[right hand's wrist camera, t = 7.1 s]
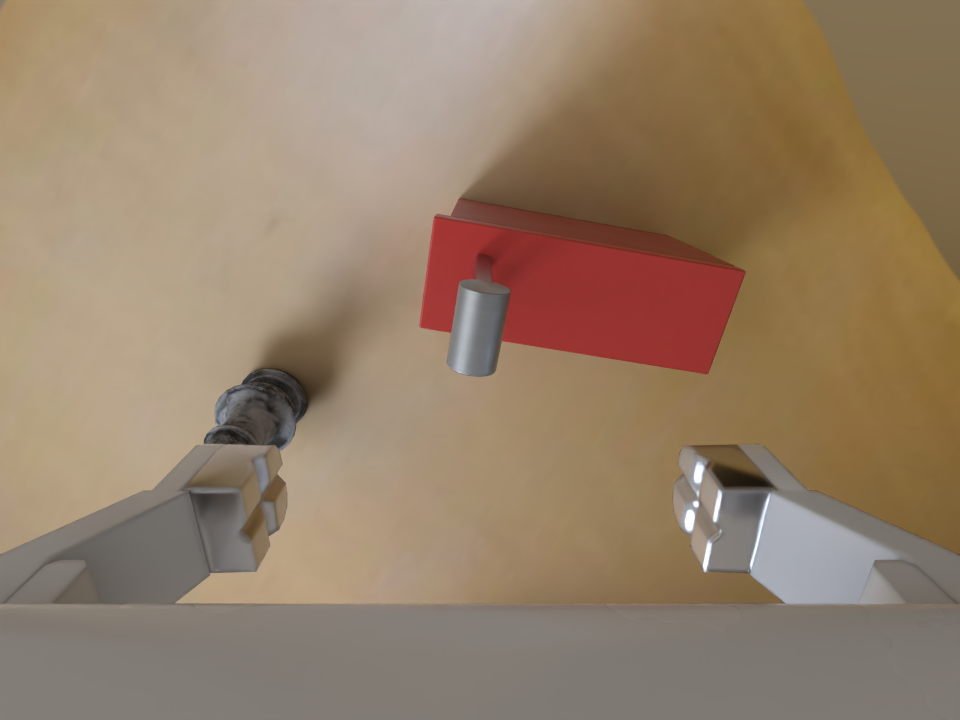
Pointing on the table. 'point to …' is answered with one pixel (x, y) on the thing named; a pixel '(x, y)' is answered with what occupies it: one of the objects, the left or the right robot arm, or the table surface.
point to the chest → (578, 229)
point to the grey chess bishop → (259, 411)
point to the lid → (571, 298)
